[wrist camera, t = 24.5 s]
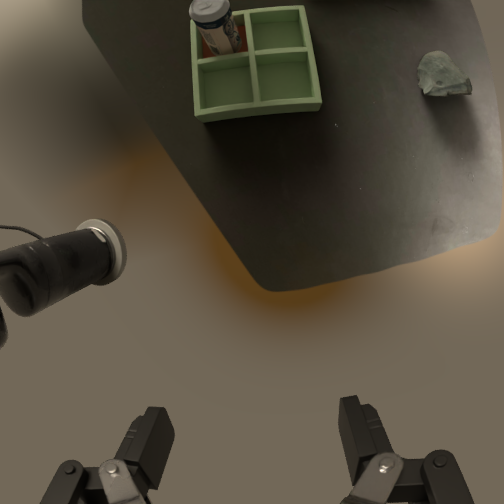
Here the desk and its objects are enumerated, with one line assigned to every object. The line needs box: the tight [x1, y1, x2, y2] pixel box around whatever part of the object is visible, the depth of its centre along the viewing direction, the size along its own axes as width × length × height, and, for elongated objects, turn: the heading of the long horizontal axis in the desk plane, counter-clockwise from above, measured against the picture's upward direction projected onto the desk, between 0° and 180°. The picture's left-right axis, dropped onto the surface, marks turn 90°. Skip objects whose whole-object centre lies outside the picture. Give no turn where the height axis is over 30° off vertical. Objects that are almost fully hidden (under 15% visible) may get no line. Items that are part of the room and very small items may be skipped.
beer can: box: [189, 0, 242, 56], centre depth 30 cm, size 5×5×12 cm
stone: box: [417, 51, 472, 97], centre depth 32 cm, size 11×4×10 cm
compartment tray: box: [191, 6, 322, 123], centre depth 35 cm, size 16×16×4 cm
